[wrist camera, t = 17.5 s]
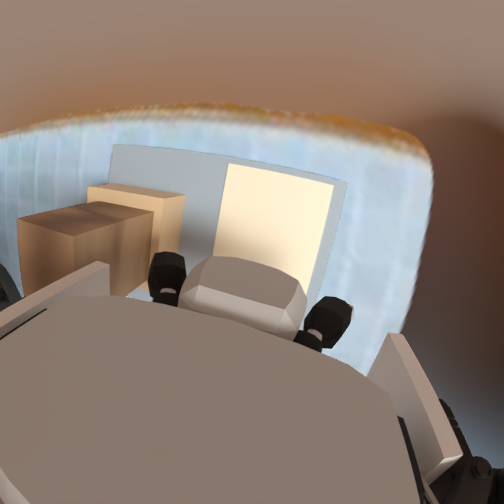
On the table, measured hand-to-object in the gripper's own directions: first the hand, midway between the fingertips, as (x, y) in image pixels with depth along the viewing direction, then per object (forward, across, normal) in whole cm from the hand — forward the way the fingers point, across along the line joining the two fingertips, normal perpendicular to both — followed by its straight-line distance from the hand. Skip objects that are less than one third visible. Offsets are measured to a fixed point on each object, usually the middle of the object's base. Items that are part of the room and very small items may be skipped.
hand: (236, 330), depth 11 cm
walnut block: (+7, -10, 0) cm, 12 cm away
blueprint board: (+12, -5, 0) cm, 13 cm away
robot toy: (+5, 0, 0) cm, 5 cm away
